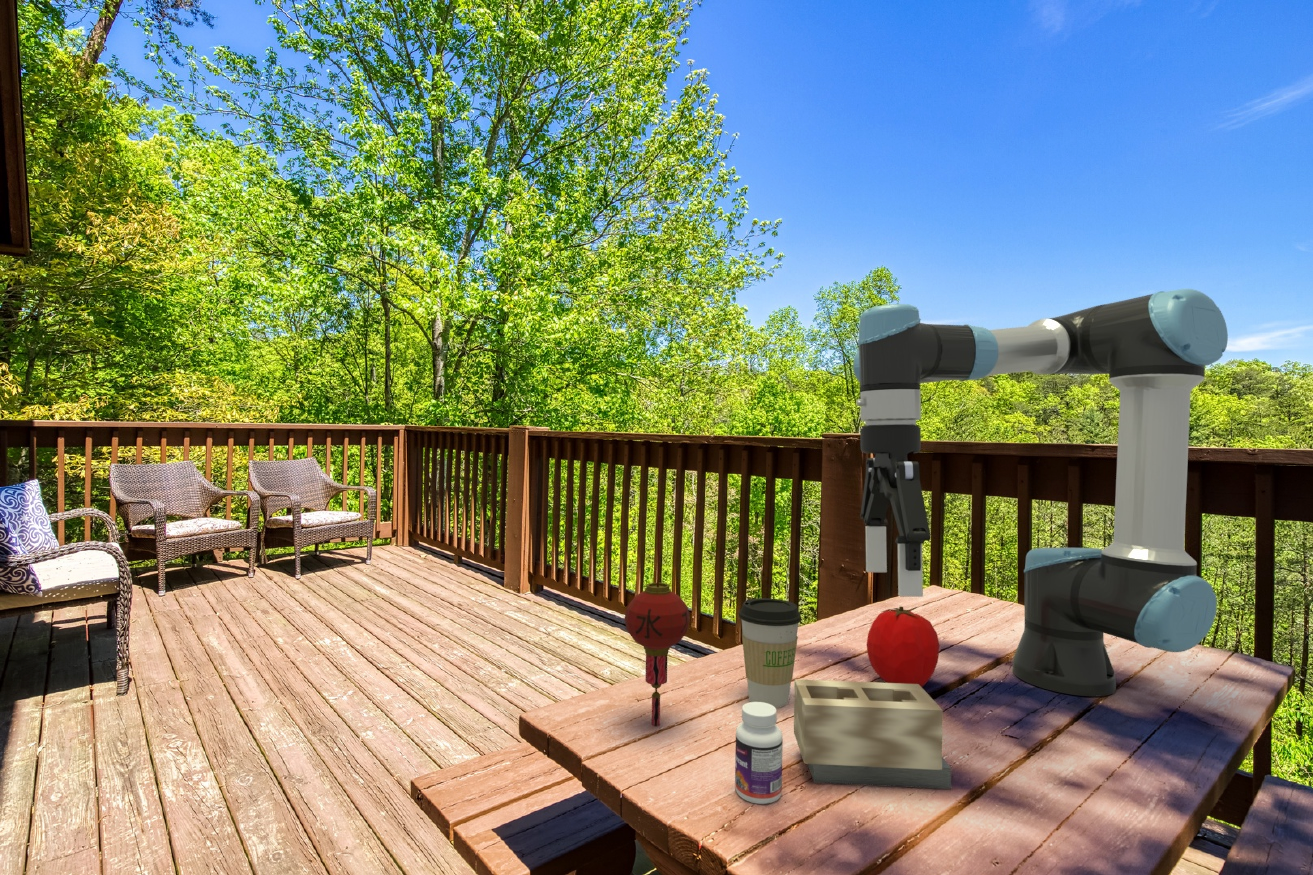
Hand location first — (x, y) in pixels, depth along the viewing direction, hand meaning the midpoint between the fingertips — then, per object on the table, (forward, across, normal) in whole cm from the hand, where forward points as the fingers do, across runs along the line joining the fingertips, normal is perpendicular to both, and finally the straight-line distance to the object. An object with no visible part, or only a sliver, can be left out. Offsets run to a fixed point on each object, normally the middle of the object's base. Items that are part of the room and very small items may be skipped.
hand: (892, 583), depth 84 cm
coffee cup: (+22, -15, -15) cm, 31 cm away
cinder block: (+20, +6, -6) cm, 21 cm away
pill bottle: (+22, +11, -19) cm, 31 cm away
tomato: (+23, -23, +9) cm, 34 cm away
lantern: (+22, -5, -32) cm, 39 cm away
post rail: (+22, +6, -4) cm, 23 cm away
